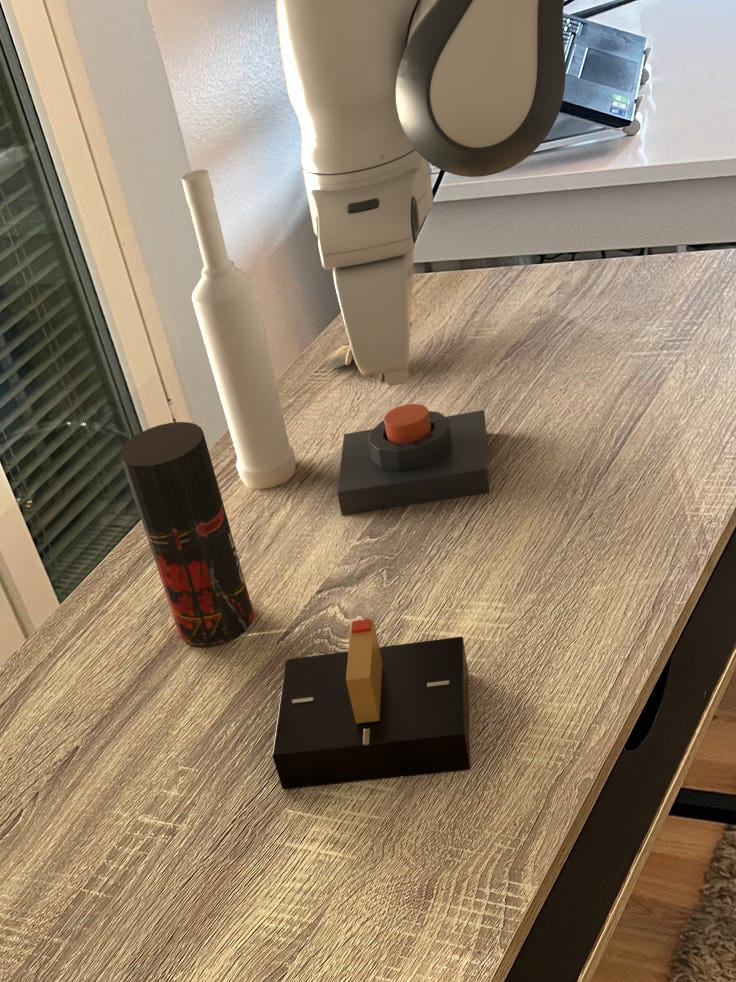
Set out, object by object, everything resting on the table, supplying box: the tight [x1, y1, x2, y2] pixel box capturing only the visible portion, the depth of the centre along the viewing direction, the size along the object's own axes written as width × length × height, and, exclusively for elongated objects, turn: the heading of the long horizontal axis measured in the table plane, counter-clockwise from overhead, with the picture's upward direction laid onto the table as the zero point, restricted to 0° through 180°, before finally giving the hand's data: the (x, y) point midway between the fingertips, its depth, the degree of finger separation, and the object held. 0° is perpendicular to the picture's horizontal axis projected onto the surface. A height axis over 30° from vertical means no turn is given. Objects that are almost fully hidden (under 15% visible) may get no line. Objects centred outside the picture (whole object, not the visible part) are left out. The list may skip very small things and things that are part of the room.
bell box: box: [336, 409, 491, 517], centre depth 106 cm, size 12×10×4 cm
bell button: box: [383, 403, 431, 444], centre depth 104 cm, size 4×4×2 cm
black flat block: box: [271, 636, 471, 790], centre depth 83 cm, size 12×10×3 cm
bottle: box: [181, 169, 297, 490], centre depth 104 cm, size 5×5×25 cm
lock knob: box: [346, 618, 383, 724], centre depth 81 cm, size 6×2×4 cm, turn 174°
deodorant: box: [119, 421, 255, 648], centre depth 93 cm, size 6×6×15 cm
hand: (398, 376), depth 102 cm, fingers closed
